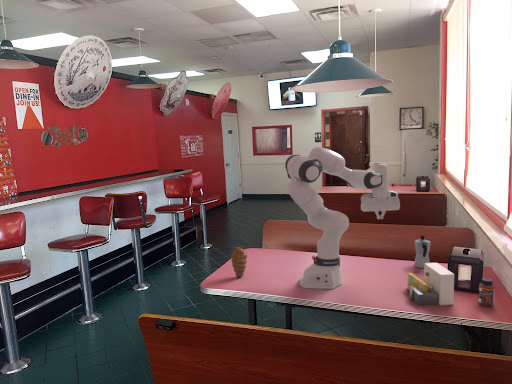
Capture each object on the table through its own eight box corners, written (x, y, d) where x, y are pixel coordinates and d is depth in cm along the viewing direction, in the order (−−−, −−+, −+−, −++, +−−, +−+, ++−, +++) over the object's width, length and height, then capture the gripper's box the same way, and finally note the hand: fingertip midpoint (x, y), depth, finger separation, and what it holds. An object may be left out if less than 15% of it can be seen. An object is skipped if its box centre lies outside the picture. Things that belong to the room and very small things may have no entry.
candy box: (427, 301, 177) (428, 284, 176) (423, 302, 177) (423, 284, 176) (411, 288, 193) (411, 272, 192) (406, 288, 193) (407, 272, 192)
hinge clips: (415, 305, 174) (416, 292, 173) (408, 297, 182) (408, 285, 181) (439, 304, 174) (440, 291, 173) (430, 296, 182) (431, 284, 182)
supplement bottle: (479, 305, 171) (480, 281, 169) (477, 300, 176) (478, 276, 175) (495, 307, 169) (496, 282, 167) (492, 301, 174) (493, 277, 172)
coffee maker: (411, 262, 232) (412, 232, 229) (427, 262, 230) (428, 232, 228) (416, 270, 217) (417, 239, 215) (433, 270, 216) (434, 239, 213)
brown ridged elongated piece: (233, 280, 214) (231, 248, 211) (231, 275, 221) (229, 245, 219) (248, 278, 215) (247, 247, 213) (246, 274, 223) (244, 243, 220)
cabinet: (438, 305, 173) (438, 274, 171) (422, 291, 189) (422, 263, 187) (453, 304, 173) (454, 274, 171) (436, 290, 189) (436, 262, 187)
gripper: (362, 195, 204) (362, 221, 206) (401, 193, 204) (401, 219, 206) (359, 193, 210) (359, 218, 212) (396, 191, 211) (396, 216, 212)
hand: (380, 218), depth 209 cm, fingers closed
